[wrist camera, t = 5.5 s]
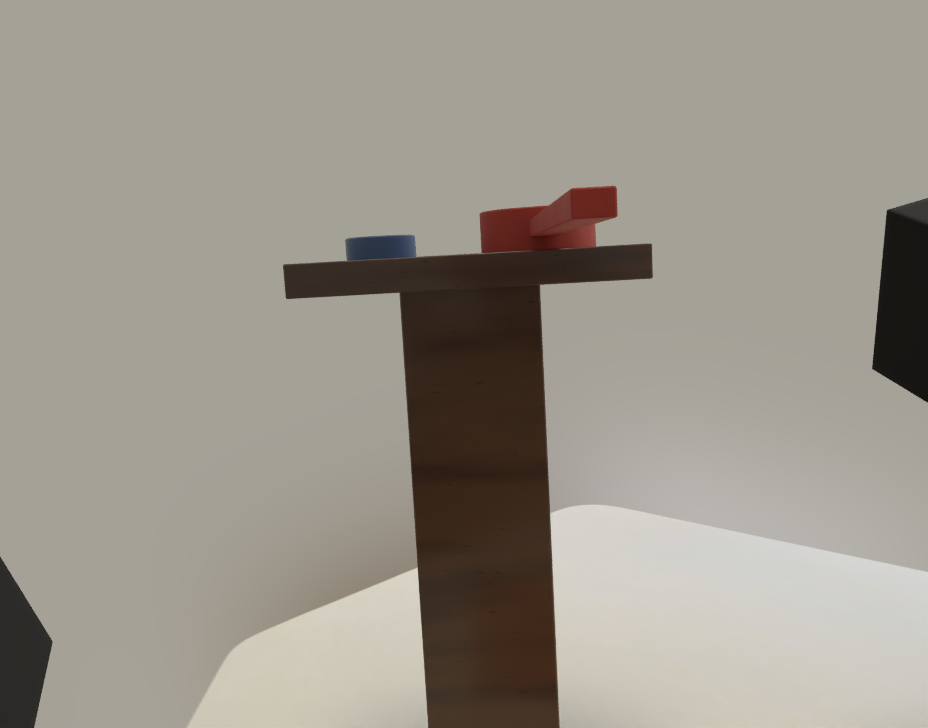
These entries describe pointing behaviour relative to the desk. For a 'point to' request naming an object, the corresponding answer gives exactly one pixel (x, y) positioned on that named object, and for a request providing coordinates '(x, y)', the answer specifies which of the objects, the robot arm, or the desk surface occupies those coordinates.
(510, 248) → the red spoon
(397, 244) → the blue spoon
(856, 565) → the desk surface
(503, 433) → the stand
